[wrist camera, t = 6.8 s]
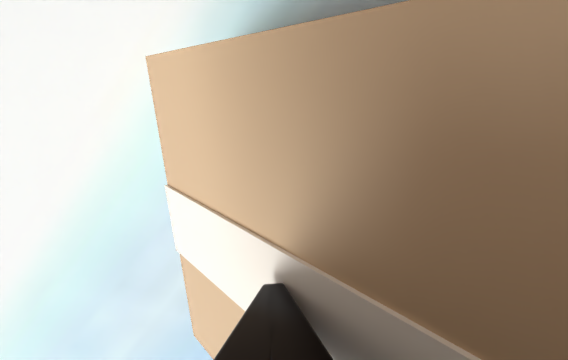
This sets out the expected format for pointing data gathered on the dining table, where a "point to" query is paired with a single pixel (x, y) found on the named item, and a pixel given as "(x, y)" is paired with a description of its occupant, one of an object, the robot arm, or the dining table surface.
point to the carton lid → (378, 178)
